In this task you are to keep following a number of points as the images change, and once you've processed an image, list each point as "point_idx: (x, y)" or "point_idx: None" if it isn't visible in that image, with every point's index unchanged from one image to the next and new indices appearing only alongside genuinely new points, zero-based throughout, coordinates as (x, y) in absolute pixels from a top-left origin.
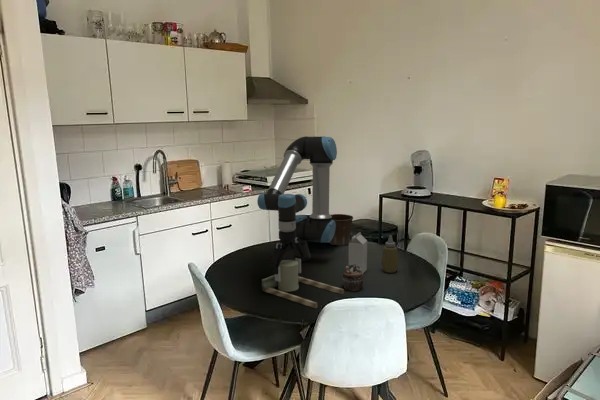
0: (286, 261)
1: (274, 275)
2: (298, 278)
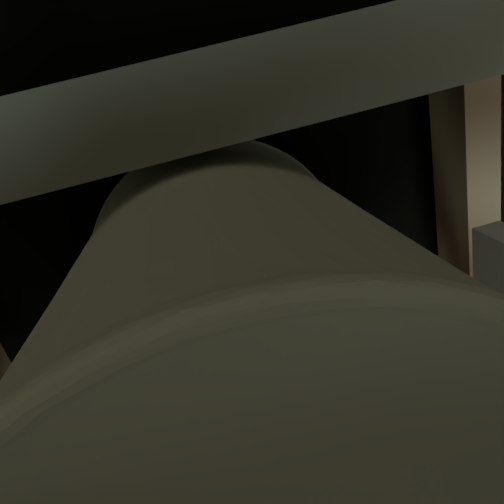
0: (394, 464)
1: (52, 123)
2: (458, 176)
